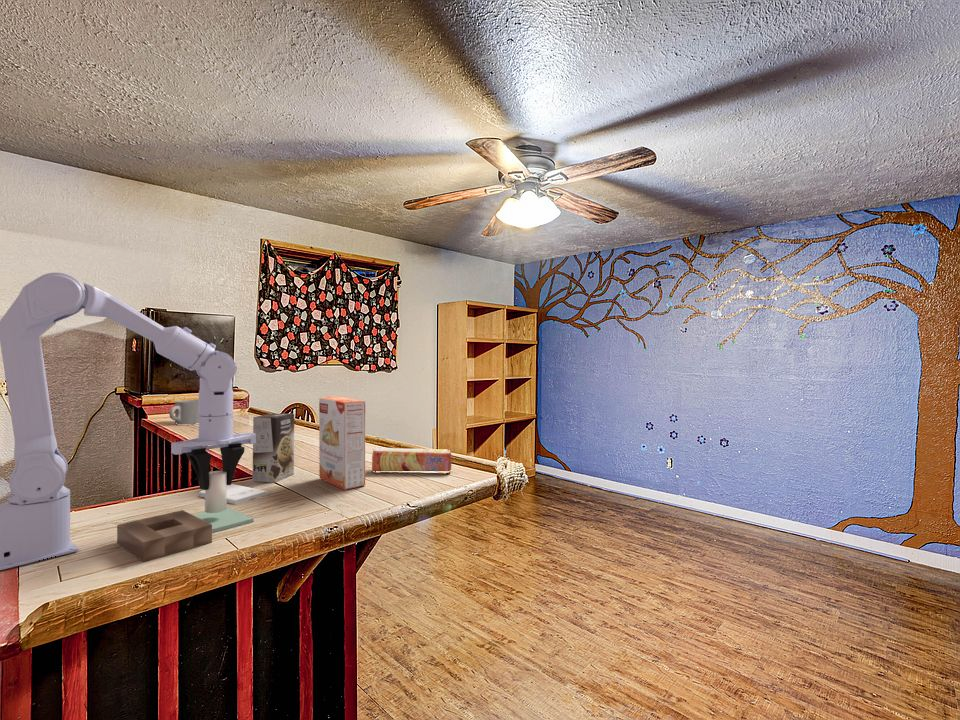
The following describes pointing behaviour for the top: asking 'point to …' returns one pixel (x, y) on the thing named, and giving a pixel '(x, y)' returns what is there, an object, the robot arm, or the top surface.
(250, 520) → the mat
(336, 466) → the cracker box
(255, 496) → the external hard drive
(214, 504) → the plug
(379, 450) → the snack package
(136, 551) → the brown socket block
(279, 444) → the coffee box
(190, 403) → the coffee mug
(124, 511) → the top surface
